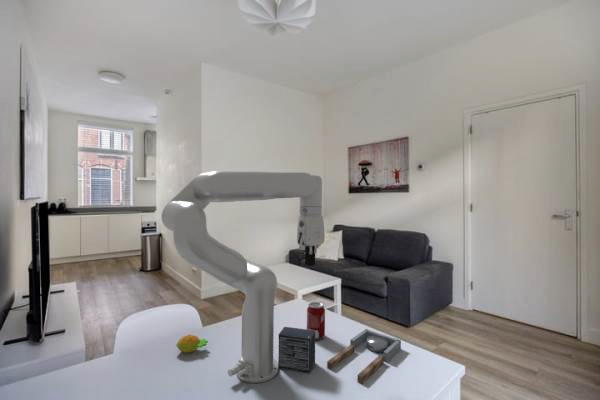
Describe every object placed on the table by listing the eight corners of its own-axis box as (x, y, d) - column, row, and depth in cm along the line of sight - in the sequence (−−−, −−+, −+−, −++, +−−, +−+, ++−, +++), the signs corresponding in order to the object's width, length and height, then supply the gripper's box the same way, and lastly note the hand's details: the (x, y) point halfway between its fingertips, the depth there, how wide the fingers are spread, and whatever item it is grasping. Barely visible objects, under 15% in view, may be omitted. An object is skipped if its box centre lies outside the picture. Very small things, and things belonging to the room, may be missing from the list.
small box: (315, 362, 95) (316, 329, 95) (311, 374, 89) (311, 339, 88) (284, 357, 98) (284, 325, 98) (277, 368, 91) (277, 334, 91)
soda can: (318, 342, 107) (318, 309, 107) (303, 337, 111) (303, 305, 111) (328, 335, 113) (328, 304, 113) (313, 330, 117) (313, 300, 117)
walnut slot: (362, 384, 84) (362, 377, 84) (327, 367, 92) (327, 361, 92) (383, 363, 95) (383, 356, 95) (350, 350, 102) (350, 344, 102)
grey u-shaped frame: (387, 362, 95) (387, 353, 95) (350, 348, 104) (350, 339, 104) (400, 348, 104) (400, 340, 104) (365, 336, 112) (365, 328, 112)
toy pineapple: (180, 346, 104) (180, 331, 104) (209, 345, 105) (209, 330, 105) (173, 357, 97) (173, 340, 97) (204, 356, 98) (205, 340, 98)
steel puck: (382, 356, 99) (382, 347, 99) (363, 349, 103) (363, 340, 103) (390, 347, 105) (390, 339, 105) (371, 341, 109) (371, 333, 109)
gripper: (305, 212, 94) (304, 271, 94) (332, 211, 105) (331, 263, 105) (287, 211, 99) (287, 267, 99) (315, 210, 110) (314, 260, 110)
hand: (310, 265), depth 102 cm, fingers closed
